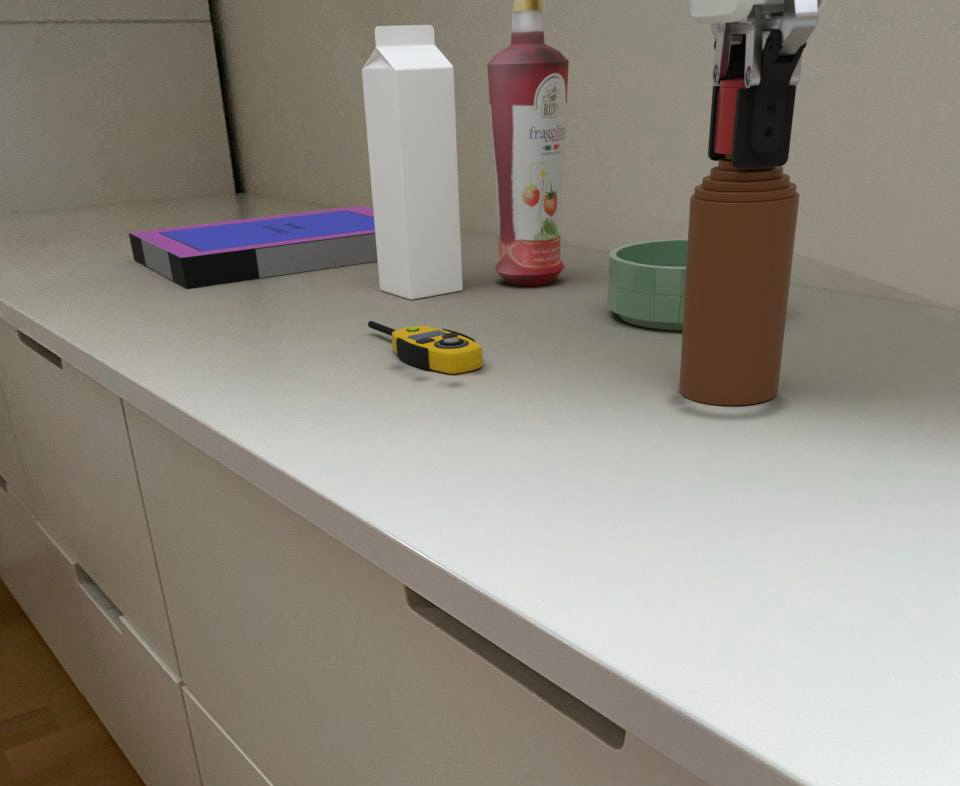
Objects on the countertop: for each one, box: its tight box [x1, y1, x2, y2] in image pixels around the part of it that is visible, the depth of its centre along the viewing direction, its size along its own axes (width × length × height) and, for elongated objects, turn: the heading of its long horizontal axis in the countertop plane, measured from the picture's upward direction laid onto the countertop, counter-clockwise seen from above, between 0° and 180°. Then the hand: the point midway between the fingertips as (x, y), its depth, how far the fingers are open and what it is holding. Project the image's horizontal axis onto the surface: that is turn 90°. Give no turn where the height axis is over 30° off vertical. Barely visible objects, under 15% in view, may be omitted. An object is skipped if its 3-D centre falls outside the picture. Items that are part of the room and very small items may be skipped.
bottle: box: [678, 154, 800, 406], centre depth 61 cm, size 6×6×18 cm
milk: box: [361, 24, 464, 301], centre depth 90 cm, size 6×6×22 cm
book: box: [128, 205, 378, 290], centre depth 114 cm, size 21×3×30 cm
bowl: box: [607, 238, 688, 332], centre depth 83 cm, size 13×13×5 cm
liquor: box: [486, 0, 570, 287], centre depth 90 cm, size 7×7×28 cm
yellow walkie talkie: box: [367, 320, 484, 375], centre depth 76 cm, size 5×2×15 cm
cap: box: [715, 79, 746, 155], centre depth 57 cm, size 4×4×4 cm
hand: (746, 159), depth 58 cm, fingers closed on cap, 3 cm apart
